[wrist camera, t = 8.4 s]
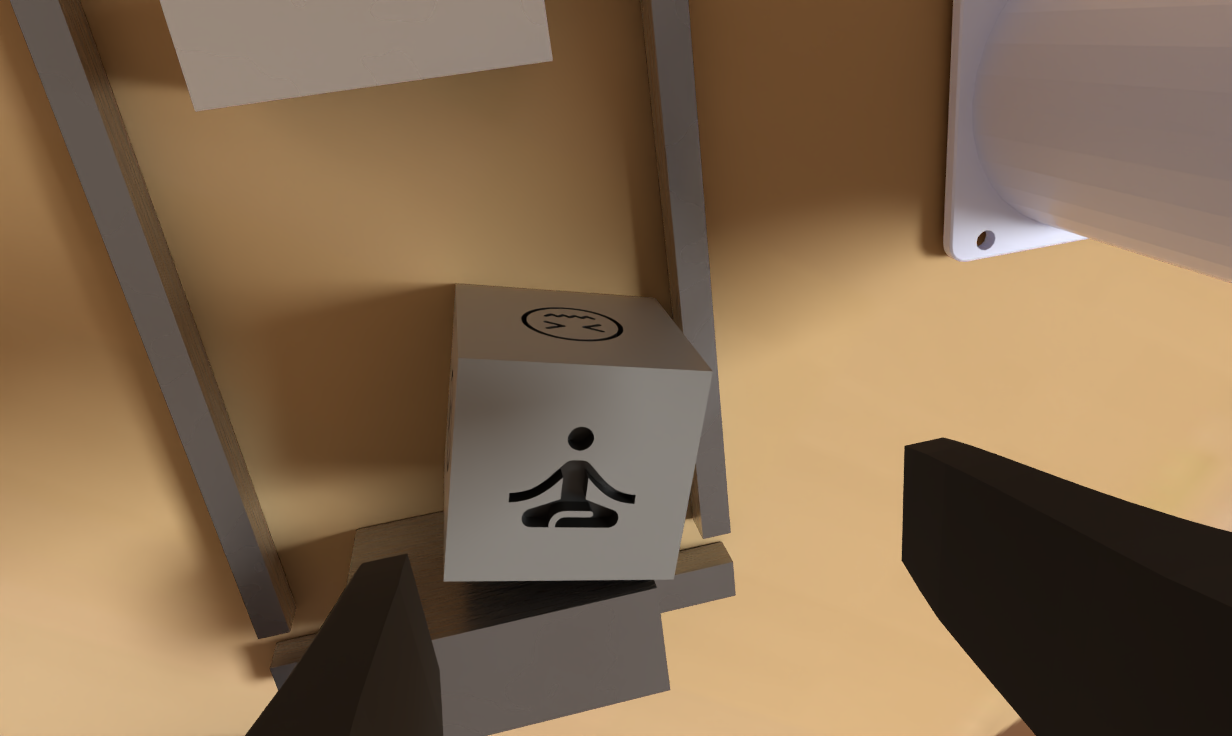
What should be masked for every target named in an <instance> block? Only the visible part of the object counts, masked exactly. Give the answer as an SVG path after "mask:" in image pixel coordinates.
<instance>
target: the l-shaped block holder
mask: <svg viewBox="0 0 1232 736" xmlns="http://www.w3.org/2000/svg"><path fill="white" fill-rule="evenodd" d="M160 3H161V7H162V10H163V13H164V16H165V19H166V22H167V25H168V28H169V31H170V35H171V38H172V41H173V44H174V47H175V50H176V53H177V56H178V60H179V63H180V66H181V69H182V72H183V75H184V78H185V81H186V84H187V88H188V91H189V94H190V97H191V100H192V103H193V106H194V109H195V112H196V111H203V110H210V109H217V108H224V107H231V106H238V105H245V104H252V103H259V102H266V101H273V100H281V99H288V98H295V97H302V96H309V95H316V94H323V93H330V92H337V91H344V90H351V89H358V88H365V87H372V86H379V85H386V84H393V83H400V82H407V81H415V80H422V79H429V78H436V77H443V76H450V75H457V74H464V73H471V72H478V71H485V70H492V69H499V68H506V67H513V66H520V65H527V64H534V63H541V62H549V61H553V58H552V51H551V44H550V37H549V30H548V23H547V16H546V9H545V3H544V0H160Z"/></svg>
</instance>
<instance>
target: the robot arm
mask: <svg viewBox="0 0 1232 736" xmlns="http://www.w3.org/2000/svg"><path fill="white" fill-rule="evenodd" d="M984 231H985V232H986V237H985V240H984V242H983V243H982V244H981V245H979V246H977V239H978V236H979V235H980V234H981V233H982V232H984ZM1084 239H1093V240H1096V241H1099V242H1103V243H1106V244H1109V245H1112V246H1115V247H1118V248H1122V249H1125V250H1128V251H1131V252H1134V253H1137V254H1141V255H1144V256H1147V257H1150V258H1153V259H1156V260H1160V261H1163V262H1166V263H1169V264H1172V265H1175V266H1179V267H1182V268H1185V269H1188V270H1191V271H1194V272H1198V273H1201V274H1204V275H1207V276H1210V277H1213V278H1217V279H1220V280H1223V281H1226V282H1229V283H1232V0H953V19H952V43H951V67H950V92H949V116H948V140H947V164H946V188H945V212H944V237H943V246H944V251H945V252H946V254H947V255H948V256H949V257H951V258H953V259H955V260H958V261H963V262H967V261H972V260H977V259H983V258H988V257H993V256H999V255H1004V254H1009V253H1015V252H1020V251H1025V250H1031V249H1036V248H1041V247H1047V246H1052V245H1058V244H1063V243H1068V242H1074V241H1079V240H1084ZM902 562H903V563H904V565H905V567H906V568H907V570H908V572H909V573H910V575H911V577H912V578H913V580H914V582H915V583H916V585H917V586H918V588H919V590H920V591H921V593H922V595H923V596H924V598H925V599H926V601H927V602H928V604H929V605H930V607H931V608H932V610H933V611H934V613H935V614H936V616H937V617H938V619H939V620H940V621H941V622H942V624H943V625H944V626H945V627H946V629H947V630H948V631H949V632H950V634H951V635H952V636H953V637H954V638H955V640H956V641H957V642H958V643H959V645H960V646H961V647H962V648H963V649H964V651H965V652H966V653H967V654H968V655H969V657H970V658H971V659H972V660H973V661H974V663H975V664H976V665H977V666H978V667H979V669H980V670H981V671H982V672H983V673H984V674H985V676H986V677H987V678H988V679H989V680H990V682H991V683H992V684H993V685H994V686H995V688H996V689H997V690H998V691H999V692H1000V693H1001V695H1002V696H1003V697H1004V698H1005V699H1006V701H1007V702H1008V703H1009V704H1010V705H1011V706H1012V708H1013V709H1014V710H1015V711H1016V712H1017V714H1018V715H1019V716H1020V717H1021V718H1022V720H1023V721H1024V722H1025V723H1026V724H1027V725H1028V727H1029V728H1030V729H1031V730H1032V731H1033V733H1034V734H1035V735H1036V736H1232V532H1229V531H1225V530H1221V529H1217V528H1213V527H1210V526H1206V525H1203V524H1199V523H1196V522H1192V521H1189V520H1185V519H1182V518H1178V517H1175V516H1172V515H1169V514H1166V513H1163V512H1159V511H1156V510H1153V509H1150V508H1147V507H1144V506H1140V505H1137V504H1134V503H1131V502H1128V501H1125V500H1122V499H1119V498H1116V497H1113V496H1110V495H1107V494H1104V493H1101V492H1098V491H1096V490H1093V489H1090V488H1087V487H1084V486H1081V485H1079V484H1076V483H1073V482H1070V481H1067V480H1065V479H1062V478H1059V477H1056V476H1054V475H1051V474H1048V473H1046V472H1043V471H1040V470H1037V469H1035V468H1032V467H1029V466H1027V465H1024V464H1021V463H1018V462H1016V461H1013V460H1010V459H1008V458H1005V457H1002V456H999V455H997V454H994V453H991V452H988V451H985V450H982V449H980V448H977V447H974V446H971V445H968V444H964V443H961V442H958V441H954V440H951V439H947V438H939V439H934V440H930V441H925V442H920V443H916V444H911V445H906V446H905V451H904V491H903V531H902ZM245 736H443V717H442V699H441V683H440V669H439V665H438V662H437V658H436V654H435V651H434V647H433V643H432V640H431V636H430V633H429V629H428V625H427V622H426V618H425V615H424V611H423V607H422V604H421V600H420V596H419V593H418V589H417V586H416V582H415V578H414V575H413V571H412V568H411V564H410V560H409V557H408V553H407V554H402V555H397V556H393V557H388V558H383V559H379V560H374V561H370V562H365V563H362V564H361V565H360V566H359V568H358V569H357V570H356V572H355V573H354V575H353V577H352V578H351V580H350V581H349V583H348V585H347V586H346V588H345V589H344V591H343V593H342V594H341V596H340V598H339V599H338V601H337V602H336V604H335V606H334V607H333V609H332V611H331V612H330V614H329V615H328V617H327V619H326V620H325V622H324V623H323V625H322V626H321V628H320V630H319V631H318V633H317V634H316V636H315V637H314V639H313V640H312V642H311V643H310V645H309V646H308V648H307V649H306V651H305V652H304V654H303V655H302V657H301V658H300V660H299V661H298V663H297V664H296V666H295V667H294V669H293V670H292V672H291V673H290V675H289V676H288V678H287V679H286V681H285V682H284V684H283V685H282V686H281V688H280V689H279V691H278V692H277V693H276V695H275V696H274V697H273V699H272V700H271V701H270V703H269V704H268V705H267V707H266V708H265V710H264V711H263V712H262V714H261V715H260V716H259V718H258V719H257V720H256V722H255V723H254V724H253V726H252V727H251V728H250V730H249V731H248V732H247V734H246V735H245Z"/></svg>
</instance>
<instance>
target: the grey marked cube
mask: <svg viewBox="0 0 1232 736" xmlns="http://www.w3.org/2000/svg"><path fill="white" fill-rule="evenodd" d="M712 373H713V371H712V370H711V368H710V367H709V366H708V365H707V363H706V362H705V361H704V359H703V358H702V357H701V356H700V354H699V353H698V352H697V351H696V349H695V348H694V347H693V345H692V344H691V343H690V342H689V340H688V339H687V338H686V337H685V335H684V334H683V333H682V332H681V330H680V329H679V328H678V326H677V325H676V324H675V323H674V321H673V320H672V319H671V318H670V316H669V315H668V314H667V312H666V311H665V310H664V309H663V307H662V306H661V305H660V304H659V302H658V301H657V300H656V298H650V297H636V296H622V295H609V294H595V293H581V292H567V291H553V290H540V289H526V288H512V287H498V286H485V285H471V284H457V283H456V285H455V301H454V317H453V333H452V349H451V365H450V381H449V397H448V414H447V430H446V446H445V462H444V582H446V581H562V580H674V575H675V570H676V565H677V559H678V554H679V549H680V543H681V538H682V533H683V527H684V522H685V517H686V512H687V506H688V501H689V496H690V490H691V485H692V480H693V474H694V469H695V464H696V458H697V453H698V448H699V442H700V437H701V432H702V427H703V421H704V416H705V411H706V405H707V400H708V395H709V389H710V384H711V379H712Z"/></svg>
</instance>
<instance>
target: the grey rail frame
mask: <svg viewBox="0 0 1232 736" xmlns="http://www.w3.org/2000/svg"><path fill="white" fill-rule="evenodd" d="M10 2H11V5H12V7H13V10H14V12H15V15H16V17H17V20H18V23H19V25H20V28H21V30H22V33H23V35H24V38H25V41H26V43H27V46H28V48H29V51H30V53H31V56H32V59H33V61H34V64H35V66H36V69H37V71H38V74H39V77H40V79H41V82H42V84H43V87H44V89H45V92H46V95H47V97H48V100H49V102H50V105H51V107H52V110H53V113H54V115H55V118H56V120H57V123H58V125H59V128H60V131H61V133H62V136H63V138H64V141H65V143H66V146H67V149H68V151H69V154H70V156H71V159H72V161H73V164H74V167H75V169H76V172H77V174H78V177H79V179H80V182H81V185H82V187H83V190H84V192H85V195H86V197H87V200H88V203H89V205H90V208H91V210H92V213H93V215H94V218H95V221H96V223H97V226H98V228H99V231H100V233H101V236H102V239H103V241H104V244H105V246H106V249H107V251H108V254H109V257H110V259H111V262H112V264H113V267H114V269H115V272H116V275H117V277H118V280H119V282H120V285H121V287H122V290H123V293H124V295H125V298H126V300H127V303H128V305H129V308H130V311H131V313H132V316H133V318H134V321H135V323H136V326H137V329H138V331H139V334H140V336H141V339H142V341H143V344H144V347H145V349H146V352H147V354H148V357H149V359H150V362H151V365H152V367H153V370H154V372H155V375H156V377H157V380H158V383H159V385H160V388H161V390H162V393H163V395H164V398H165V401H166V403H167V406H168V408H169V411H170V413H171V416H172V419H173V421H174V424H175V426H176V429H177V431H178V434H179V437H180V439H181V442H182V444H183V447H184V449H185V452H186V455H187V457H188V460H189V462H190V465H191V467H192V470H193V473H194V475H195V478H196V480H197V483H198V485H199V488H200V491H201V493H202V496H203V498H204V501H205V503H206V506H207V509H208V511H209V514H210V516H211V519H212V521H213V524H214V527H215V529H216V532H217V534H218V537H219V539H220V542H221V545H222V547H223V550H224V552H225V555H226V557H227V560H228V563H229V565H230V568H231V570H232V573H233V575H234V578H235V581H236V583H237V586H238V588H239V591H240V593H241V596H242V599H243V601H244V604H245V606H246V609H247V611H248V614H249V616H250V619H251V622H252V624H253V627H254V629H255V632H256V634H257V637H258V639H261V638H266V637H270V636H275V635H279V634H283V633H288V632H290V630H291V626H292V622H293V619H294V615H295V611H296V605H295V602H294V599H293V596H292V594H291V591H290V588H289V585H288V582H287V580H286V577H285V574H284V571H283V568H282V566H281V563H280V560H279V557H278V554H277V552H276V549H275V546H274V543H273V540H272V538H271V535H270V532H269V529H268V526H267V524H266V521H265V518H264V515H263V512H262V510H261V507H260V504H259V501H258V498H257V496H256V493H255V490H254V487H253V484H252V482H251V479H250V476H249V473H248V470H247V468H246V465H245V462H244V459H243V456H242V454H241V451H240V448H239V445H238V442H237V440H236V437H235V434H234V431H233V428H232V426H231V423H230V420H229V417H228V414H227V412H226V409H225V406H224V403H223V400H222V398H221V395H220V392H219V389H218V386H217V384H216V381H215V378H214V375H213V372H212V370H211V367H210V364H209V361H208V358H207V356H206V353H205V350H204V347H203V344H202V342H201V339H200V336H199V333H198V330H197V328H196V325H195V322H194V319H193V316H192V314H191V311H190V308H189V305H188V302H187V300H186V297H185V294H184V291H183V288H182V286H181V283H180V280H179V277H178V274H177V272H176V269H175V266H174V263H173V260H172V258H171V255H170V252H169V249H168V246H167V244H166V241H165V238H164V235H163V232H162V230H161V227H160V224H159V221H158V218H157V216H156V213H155V210H154V207H153V204H152V202H151V199H150V196H149V193H148V190H147V188H146V185H145V182H144V179H143V176H142V174H141V171H140V168H139V165H138V162H137V160H136V157H135V154H134V151H133V148H132V146H131V143H130V140H129V137H128V134H127V132H126V129H125V126H124V123H123V120H122V118H121V115H120V112H119V109H118V106H117V104H116V101H115V98H114V95H113V92H112V90H111V87H110V84H109V81H108V78H107V75H106V73H105V70H104V67H103V64H102V61H101V59H100V56H99V53H98V50H97V47H96V45H95V42H94V39H93V36H92V33H91V31H90V28H89V25H88V22H87V19H86V17H85V14H84V11H83V8H82V5H81V3H80V0H10ZM641 10H642V20H643V30H644V40H645V50H646V60H647V70H648V79H649V89H650V99H651V109H652V119H653V129H654V139H655V148H656V158H657V168H658V178H659V188H660V198H661V208H662V218H663V227H664V237H665V247H666V257H667V267H668V277H669V287H670V297H671V306H672V316H673V321H674V323H675V324H676V325H677V326H678V328H679V329H680V330H681V332H682V333H683V334H684V335H685V337H686V338H687V339H688V340H689V342H690V343H691V344H692V345H693V347H694V348H695V349H696V351H697V352H698V353H699V354H700V356H701V357H702V358H703V359H704V361H705V362H706V363H707V365H708V366H709V367H710V368H711V370H712V371H713V373H712V379H711V384H710V389H709V395H708V400H707V405H706V411H705V416H704V421H703V427H702V432H701V437H700V442H699V448H698V453H697V458H696V464H695V469H694V474H693V480H692V485H691V490H690V494H691V504H692V514H693V520H694V522H695V524H696V526H697V528H698V530H699V532H700V534H701V536H702V538H703V539H705V538H710V537H714V536H719V535H723V534H728V533H731V531H730V519H729V506H728V494H727V481H726V469H725V456H724V443H723V431H722V418H721V406H720V393H719V381H718V368H717V355H716V343H715V330H714V318H713V305H712V292H711V280H710V267H709V255H708V242H707V230H706V217H705V204H704V192H703V179H702V167H701V154H700V142H699V129H698V116H697V104H696V91H695V79H694V66H693V53H692V41H691V28H690V16H689V3H688V0H641ZM407 553H408V557H409V560H410V564H411V568H412V571H413V575H414V578H415V582H416V586H417V589H418V593H419V596H420V600H421V604H422V607H423V611H424V615H425V618H426V622H427V625H428V629H429V633H430V636H431V640H432V643H433V647H434V651H435V654H436V658H437V662H438V665H439V669H440V683H441V699H442V717H443V736H488V735H492V734H496V733H500V732H504V731H508V730H512V729H516V728H520V727H524V726H528V725H532V724H536V723H540V722H544V721H548V720H552V719H556V718H560V717H564V716H568V715H572V714H576V713H580V712H584V711H588V710H592V709H596V708H600V707H604V706H608V705H612V704H616V703H620V702H624V701H628V700H632V699H636V698H640V697H644V696H648V695H652V694H656V693H660V692H664V691H668V690H670V684H669V676H668V669H667V661H666V653H665V645H664V637H663V629H662V622H661V614H660V613H663V612H667V611H672V610H676V609H680V608H684V607H688V606H693V605H697V604H701V603H705V602H710V601H714V600H718V599H722V598H727V597H731V596H735V595H736V594H735V582H734V569H733V561H732V559H731V557H730V556H729V554H728V552H727V550H726V548H725V546H724V545H723V543H722V542H719V543H714V544H710V545H706V546H701V547H697V548H692V549H688V550H683V551H679V554H678V559H677V565H676V570H675V575H674V580H562V581H446V582H444V511H443V512H438V513H433V514H428V515H424V516H419V517H414V518H409V519H405V520H400V521H395V522H390V523H386V524H381V525H376V526H372V527H367V528H362V529H357V530H356V535H355V540H354V546H353V552H352V557H351V563H350V569H349V574H348V580H347V585H348V583H349V581H350V580H351V578H352V577H353V575H354V573H355V572H356V570H357V569H358V568H359V566H360V565H361V564H362V563H365V562H370V561H374V560H379V559H383V558H388V557H393V556H397V555H402V554H407ZM347 585H346V586H347ZM315 636H316V634H312V635H308V636H304V637H299V638H295V639H290V640H286V641H281V642H277V644H276V647H275V651H274V655H273V658H272V662H271V666H270V670H271V673H272V676H273V678H274V681H275V683H276V686H277V688H278V691H279V689H280V688H281V686H282V685H283V684H284V682H285V681H286V679H287V678H288V676H289V675H290V673H291V672H292V670H293V669H294V667H295V666H296V664H297V663H298V661H299V660H300V658H301V657H302V655H303V654H304V652H305V651H306V649H307V648H308V646H309V645H310V643H311V642H312V640H313V639H314V637H315Z"/></svg>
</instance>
